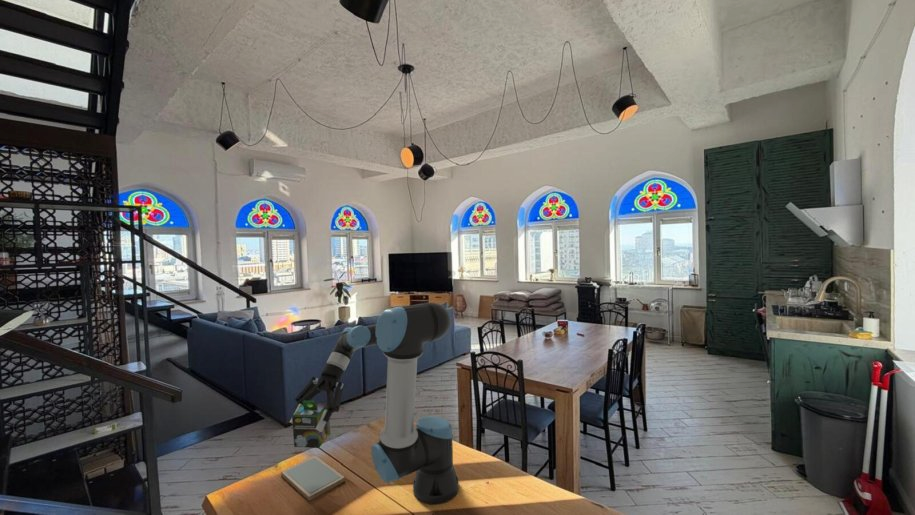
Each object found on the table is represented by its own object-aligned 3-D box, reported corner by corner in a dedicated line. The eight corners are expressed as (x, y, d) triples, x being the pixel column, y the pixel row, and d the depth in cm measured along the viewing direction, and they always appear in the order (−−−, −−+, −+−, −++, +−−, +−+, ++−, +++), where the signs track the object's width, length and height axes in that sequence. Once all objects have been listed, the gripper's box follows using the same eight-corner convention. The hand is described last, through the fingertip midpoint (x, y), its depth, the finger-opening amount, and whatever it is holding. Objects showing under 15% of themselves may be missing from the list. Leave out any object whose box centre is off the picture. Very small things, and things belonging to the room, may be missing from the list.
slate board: (344, 481, 134) (344, 476, 134) (309, 501, 124) (308, 496, 124) (315, 459, 147) (315, 455, 147) (281, 475, 137) (281, 471, 137)
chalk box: (330, 434, 138) (329, 394, 137) (319, 448, 129) (317, 405, 128) (306, 433, 139) (304, 393, 138) (292, 447, 130) (290, 405, 129)
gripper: (365, 376, 142) (338, 438, 129) (317, 367, 152) (286, 424, 139) (355, 366, 137) (325, 430, 124) (306, 358, 146) (273, 416, 134)
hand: (305, 427), depth 131 cm, fingers closed on chalk box, 11 cm apart
